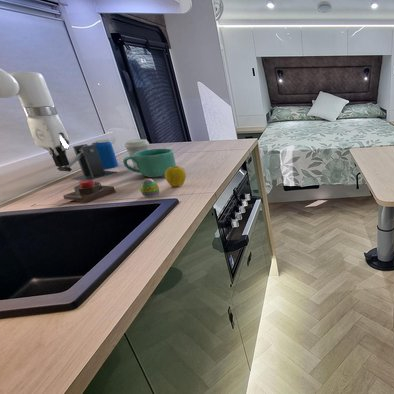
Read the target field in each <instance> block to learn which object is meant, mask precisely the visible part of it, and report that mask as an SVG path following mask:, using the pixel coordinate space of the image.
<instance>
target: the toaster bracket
mask: <svg viewBox="0 0 394 394" xmlns="http://www.w3.org/2000/svg"><path fill="white" fill-rule="evenodd" d="M84 145H86V146H84ZM80 148H81V149H82V151H83V154H84V155H83V156H82V157H81V158H80V159H79V160H78V161H77V162H78V164H79V166H80V169H81V172H82V175H78V176H74V177H71V178H70V180H77V181H84V180H93V181H94V180H96V179H100V178H103V177H106V176H110V175H112V174H117V173H118V171H114V170H113V171H111V170H105V169H103V166H102V163H101V160H100V157H99V154H98V151H97V148H96V145H92V144H89V145H88V144H86V143H83V144H80V145H73V146H72V149H73V150H74V154H75V157H76V156H77V155H78V154H79V153H80V151H79V149H80Z"/></svg>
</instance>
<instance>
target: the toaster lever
mask: <svg viewBox="0 0 394 394" xmlns="http://www.w3.org/2000/svg"><path fill="white" fill-rule="evenodd" d="M83 145H84V144H83ZM84 146H86V145H84ZM79 151H80V153H79V154H78V155H77V156H76V155H75V156H74V157H73V158H72V159H71V160H70V161H69V165H66V166H62V167H57V168H56V169H57V170H58V171H59V172H71V171H73V168H71V167H72V166H73V165H75V164H76V163H77V162H79V161H78V160H79V159H80V158H81V157H82V156H83V155H84V154H83V151H82V149H81V148H80V149H79Z"/></svg>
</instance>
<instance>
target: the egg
mask: <svg viewBox="0 0 394 394" xmlns="http://www.w3.org/2000/svg"><path fill="white" fill-rule="evenodd" d="M139 190H140V193H141V195H142V196H143V197H144V198H147V199H151V198H156V197H157V196H159V193H160V188H159V185H158V184H157V182H156V181H155V180H153V178H144V179H143V180H142V181H141V183H140V189H139Z"/></svg>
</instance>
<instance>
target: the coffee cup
mask: <svg viewBox="0 0 394 394" xmlns="http://www.w3.org/2000/svg"><path fill="white" fill-rule="evenodd" d="M124 147H125V149H126V151H127V153H128V156H132V157H135V156H134V154H135V153H137V152H140V151H145V150H150V142H149V141H148V140H147V139H146V138H137V139H136V138H135V139H130V140H125V142H124ZM131 162H132V164H133V166H134V169H138V167H137V163H136V162H135V161H134V160H131Z"/></svg>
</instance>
